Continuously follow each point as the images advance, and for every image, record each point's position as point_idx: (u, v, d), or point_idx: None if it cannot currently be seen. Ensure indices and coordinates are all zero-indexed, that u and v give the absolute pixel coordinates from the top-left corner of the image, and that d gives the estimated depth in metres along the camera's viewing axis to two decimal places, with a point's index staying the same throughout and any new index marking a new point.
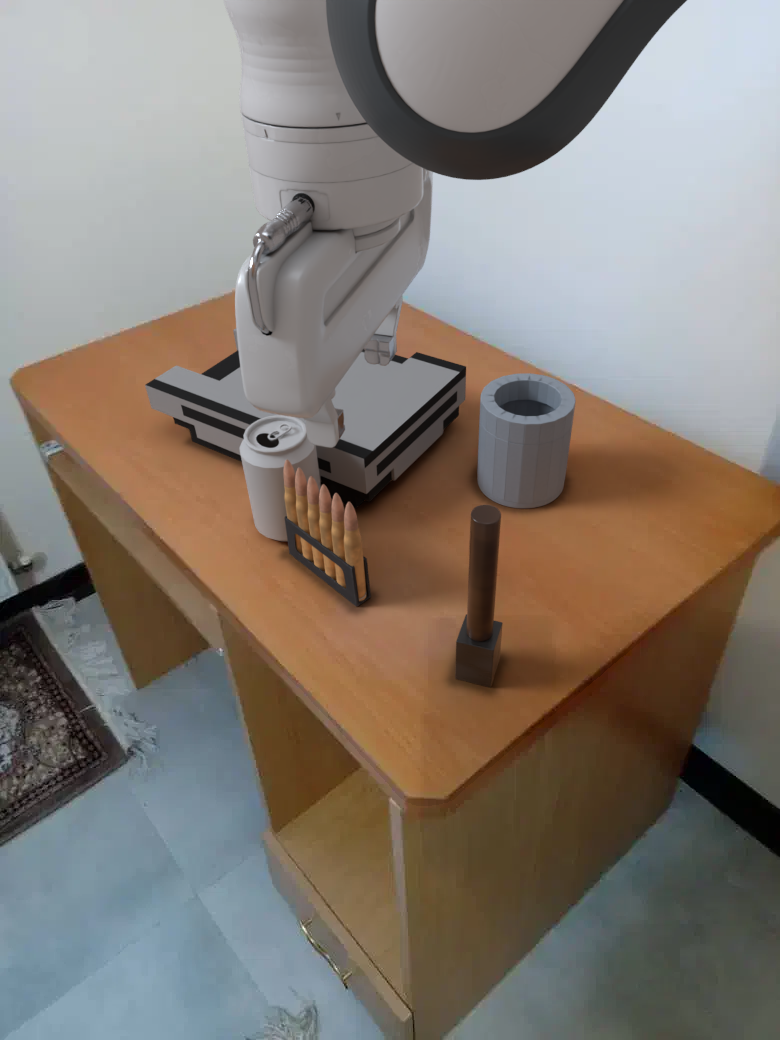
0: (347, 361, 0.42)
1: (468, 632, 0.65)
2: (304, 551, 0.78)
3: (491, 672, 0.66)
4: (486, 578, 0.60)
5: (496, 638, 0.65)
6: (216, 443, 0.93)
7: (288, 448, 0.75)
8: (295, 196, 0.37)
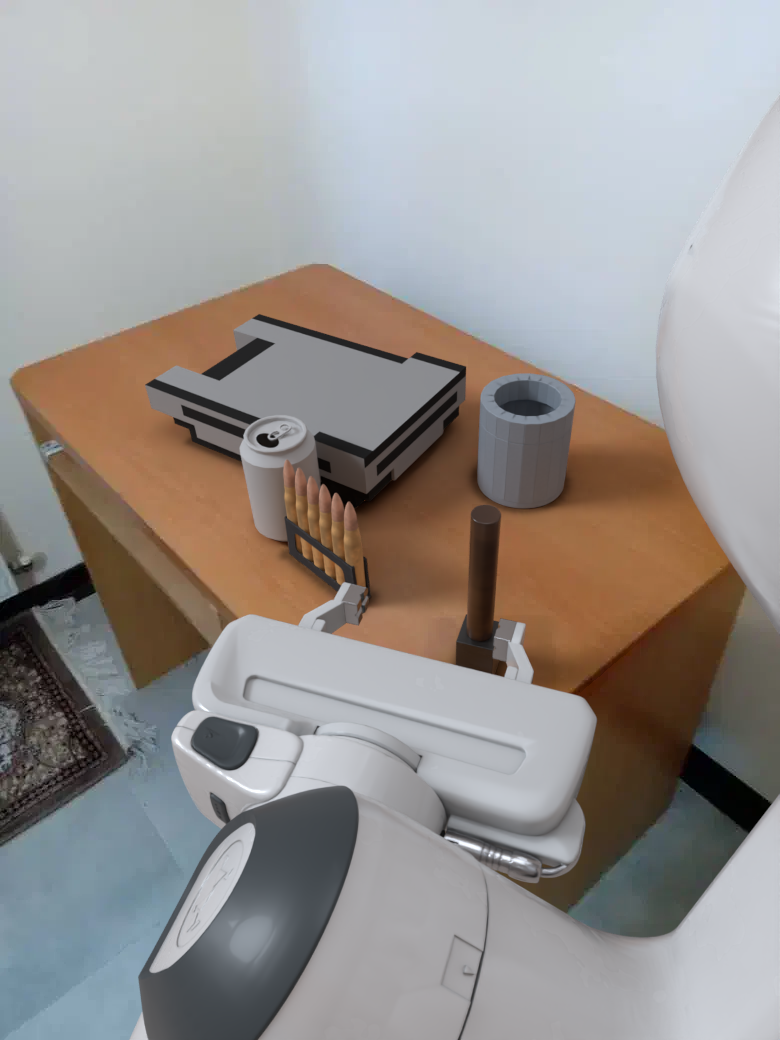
0: (496, 686, 0.39)
1: (468, 632, 0.65)
2: (304, 551, 0.78)
3: (491, 672, 0.66)
4: (486, 578, 0.60)
5: None
6: (216, 443, 0.93)
7: (288, 448, 0.75)
8: None
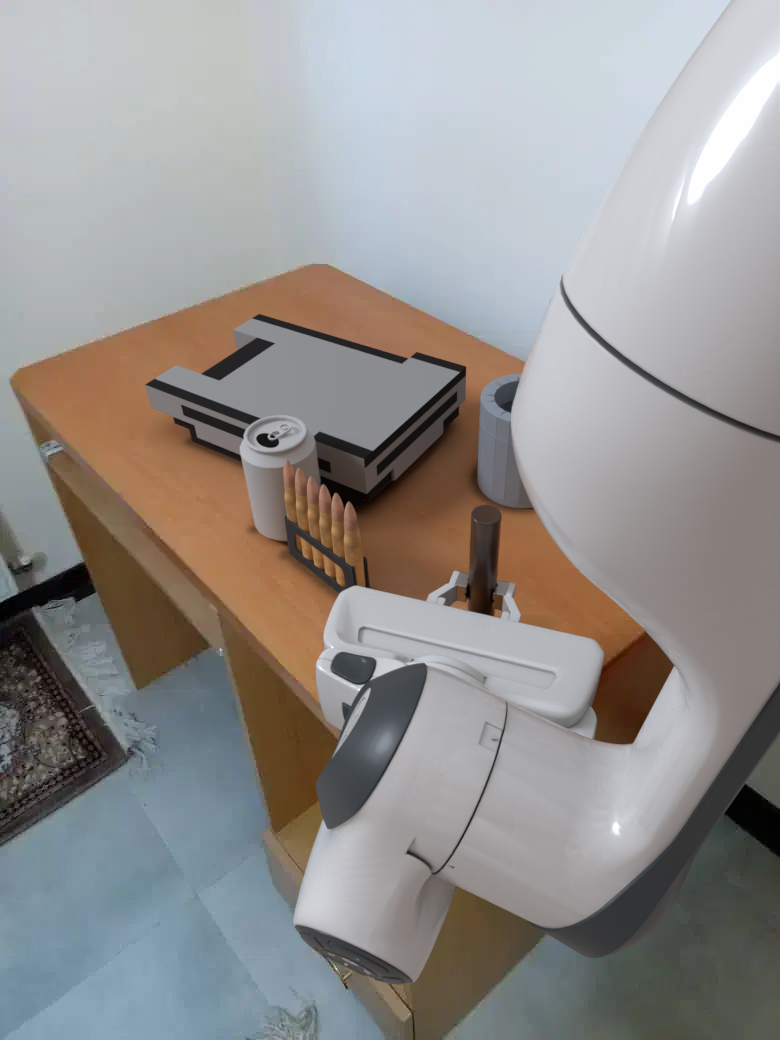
0: (534, 632, 0.57)
1: None
2: (304, 551, 0.78)
3: None
4: (487, 578, 0.60)
5: None
6: (216, 443, 0.93)
7: (288, 448, 0.75)
8: None
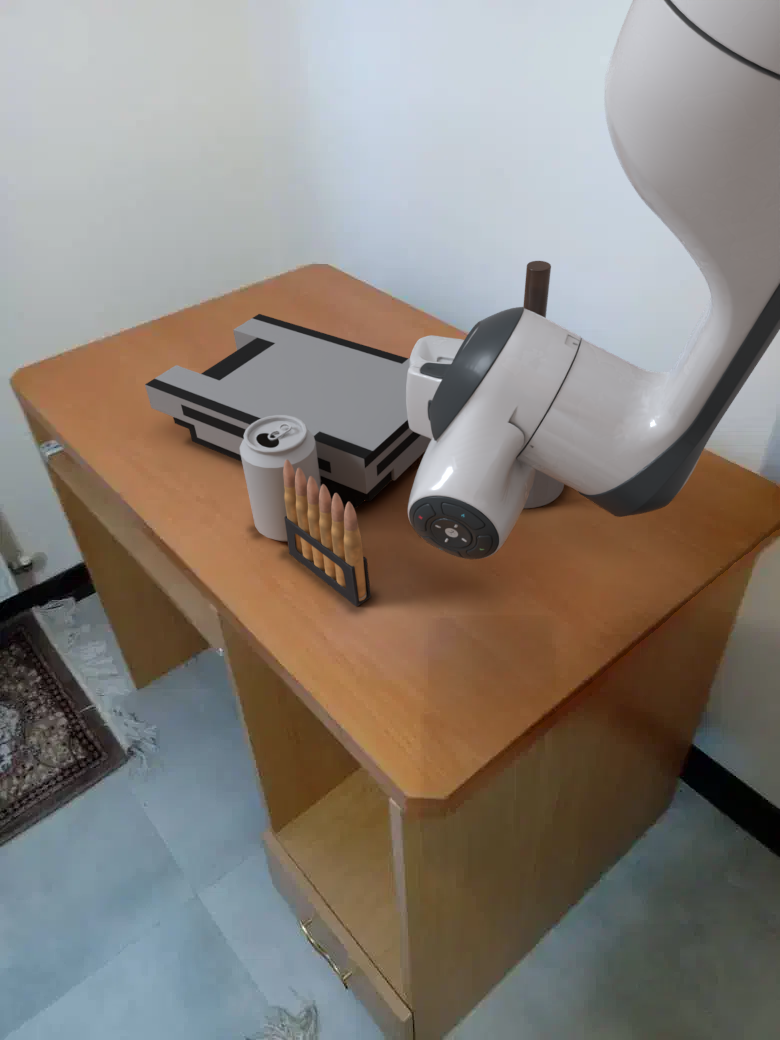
0: None
1: None
2: (304, 551, 0.78)
3: None
4: None
5: None
6: (216, 443, 0.93)
7: (288, 448, 0.75)
8: None
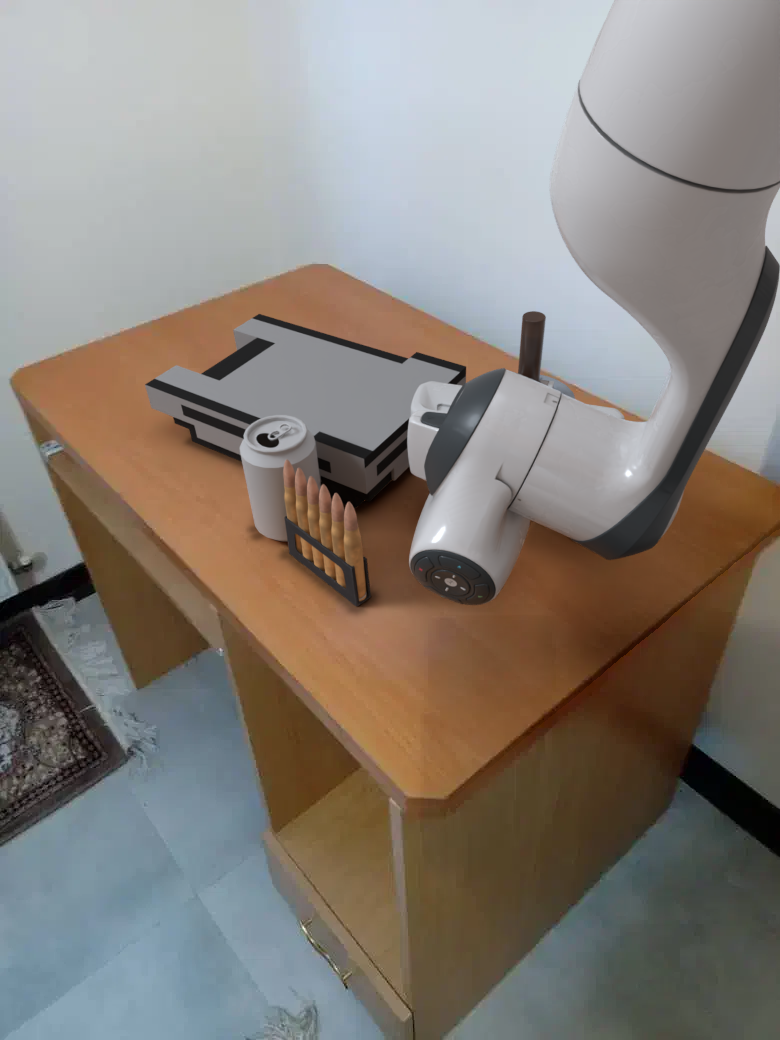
0: None
1: None
2: (304, 551, 0.78)
3: None
4: (533, 372, 0.78)
5: None
6: (216, 443, 0.93)
7: (288, 448, 0.75)
8: None
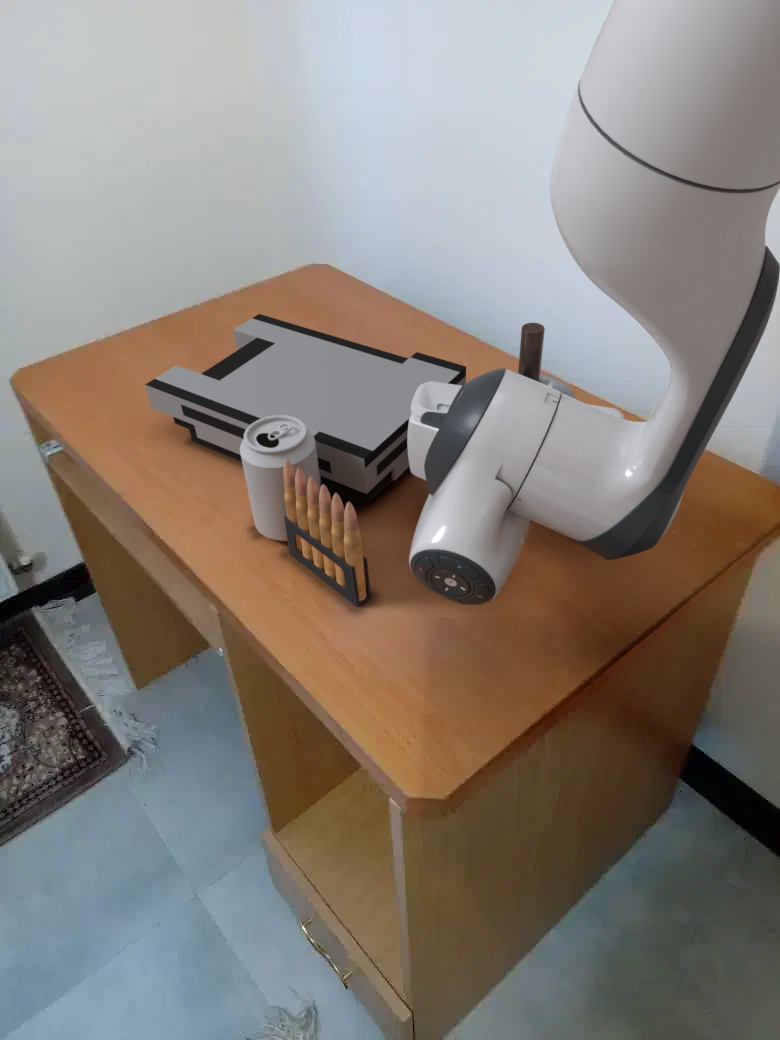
0: None
1: None
2: (304, 551, 0.78)
3: None
4: None
5: None
6: (216, 443, 0.93)
7: (288, 448, 0.75)
8: None
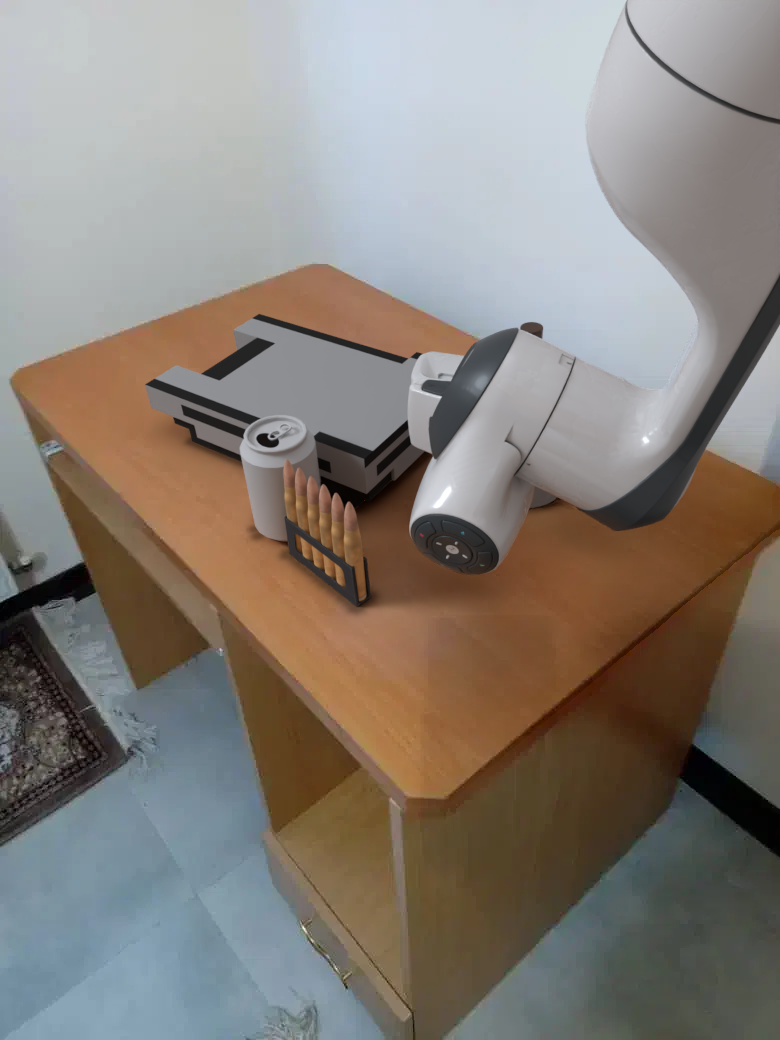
0: None
1: None
2: (304, 551, 0.78)
3: None
4: None
5: None
6: (216, 443, 0.93)
7: (288, 448, 0.75)
8: None
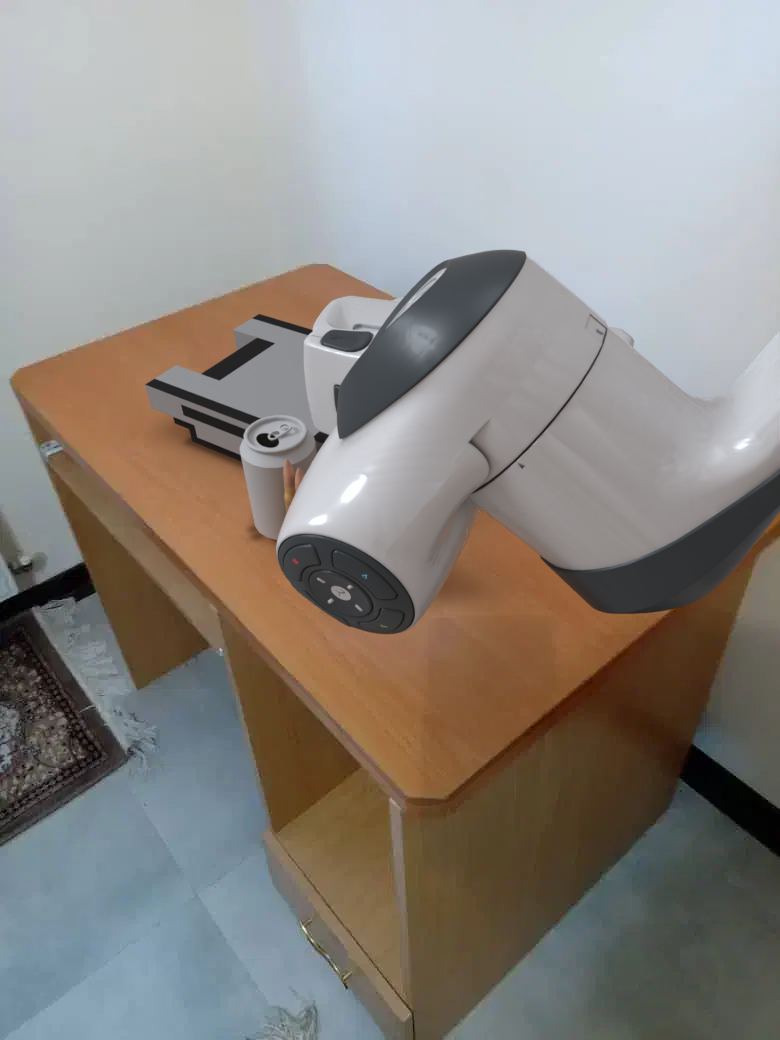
0: None
1: None
2: None
3: None
4: None
5: None
6: (216, 443, 0.93)
7: (288, 448, 0.75)
8: None
